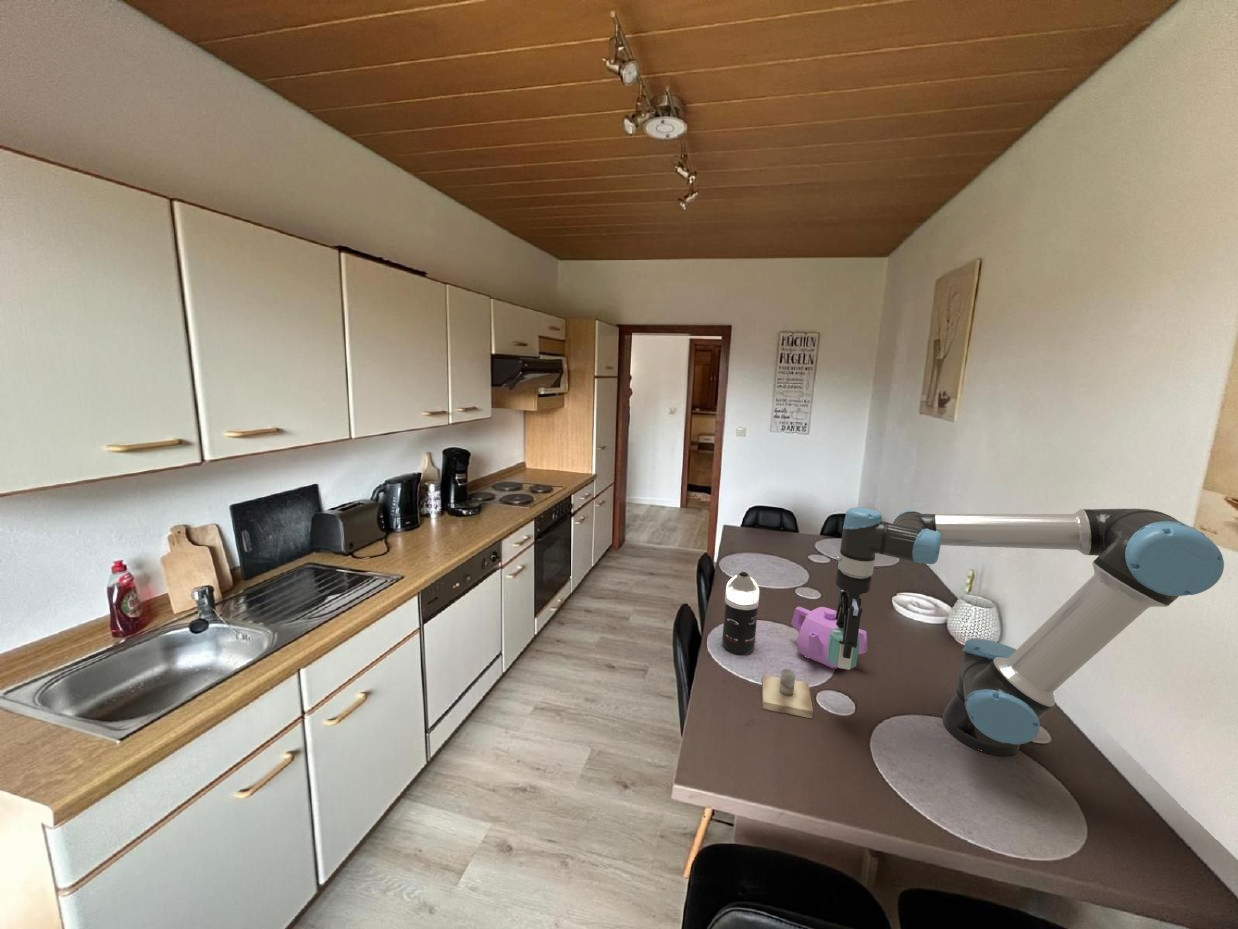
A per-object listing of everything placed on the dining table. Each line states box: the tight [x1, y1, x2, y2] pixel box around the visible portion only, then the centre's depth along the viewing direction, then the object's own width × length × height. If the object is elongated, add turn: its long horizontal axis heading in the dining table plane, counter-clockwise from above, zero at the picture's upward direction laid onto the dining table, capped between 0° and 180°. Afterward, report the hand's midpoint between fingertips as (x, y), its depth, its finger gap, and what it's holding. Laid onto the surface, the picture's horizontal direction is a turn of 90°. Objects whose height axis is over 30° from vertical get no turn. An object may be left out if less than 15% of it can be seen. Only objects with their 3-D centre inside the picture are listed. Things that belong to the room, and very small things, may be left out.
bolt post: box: [761, 668, 814, 719], centre depth 128 cm, size 12×12×8 cm
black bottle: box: [721, 571, 760, 655], centre depth 151 cm, size 10×10×25 cm
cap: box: [827, 628, 860, 670], centre depth 119 cm, size 6×6×8 cm
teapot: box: [790, 605, 868, 670], centre depth 148 cm, size 19×18×15 cm
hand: (841, 659), depth 120 cm, fingers closed on cap, 6 cm apart
